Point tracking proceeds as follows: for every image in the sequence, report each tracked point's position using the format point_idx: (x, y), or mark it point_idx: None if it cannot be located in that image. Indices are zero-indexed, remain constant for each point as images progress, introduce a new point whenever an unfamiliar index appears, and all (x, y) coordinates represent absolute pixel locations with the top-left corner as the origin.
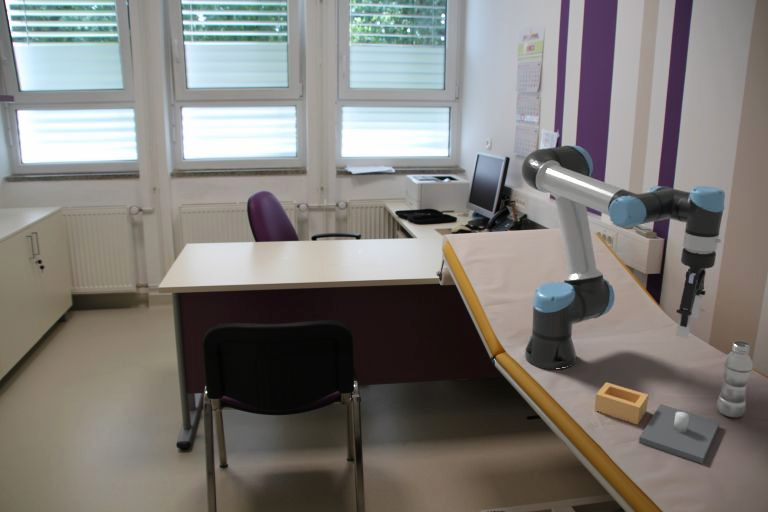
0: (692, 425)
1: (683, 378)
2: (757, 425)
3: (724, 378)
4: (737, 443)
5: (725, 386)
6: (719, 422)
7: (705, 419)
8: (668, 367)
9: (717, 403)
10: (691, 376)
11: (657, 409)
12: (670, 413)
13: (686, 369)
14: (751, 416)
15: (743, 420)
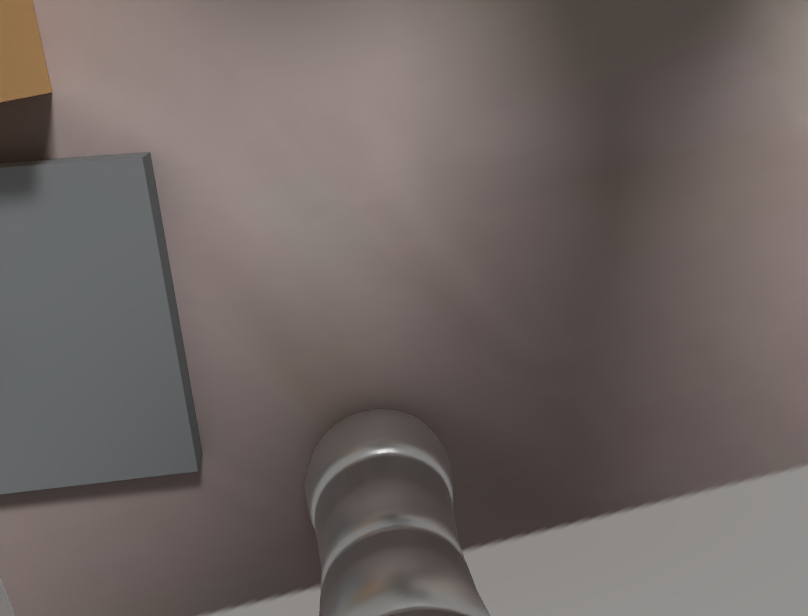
0: (42, 384)
1: (632, 142)
2: None
3: (354, 557)
4: (117, 552)
5: (336, 539)
6: (196, 469)
7: (165, 414)
8: (737, 9)
9: (343, 430)
10: (683, 173)
11: (56, 166)
12: (73, 247)
13: (763, 118)
14: None
15: None
